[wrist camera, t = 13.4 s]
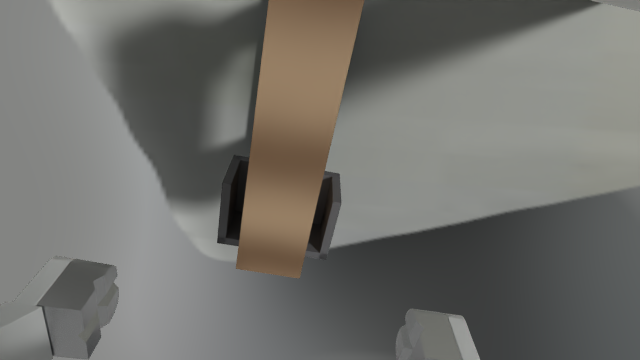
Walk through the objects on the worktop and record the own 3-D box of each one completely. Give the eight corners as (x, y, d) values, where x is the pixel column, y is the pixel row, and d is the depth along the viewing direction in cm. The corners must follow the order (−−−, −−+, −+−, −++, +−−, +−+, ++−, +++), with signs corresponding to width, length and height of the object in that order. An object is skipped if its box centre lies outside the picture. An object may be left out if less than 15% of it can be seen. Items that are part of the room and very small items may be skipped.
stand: (276, -73, 28) (245, -82, 17) (375, -51, 29) (407, -44, 17) (249, 155, 37) (216, 249, 26) (324, 168, 38) (324, 265, 26)
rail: (285, -36, 20) (271, -27, 15) (355, -20, 21) (365, -7, 15) (252, 207, 28) (235, 268, 23) (304, 216, 28) (299, 278, 23)
